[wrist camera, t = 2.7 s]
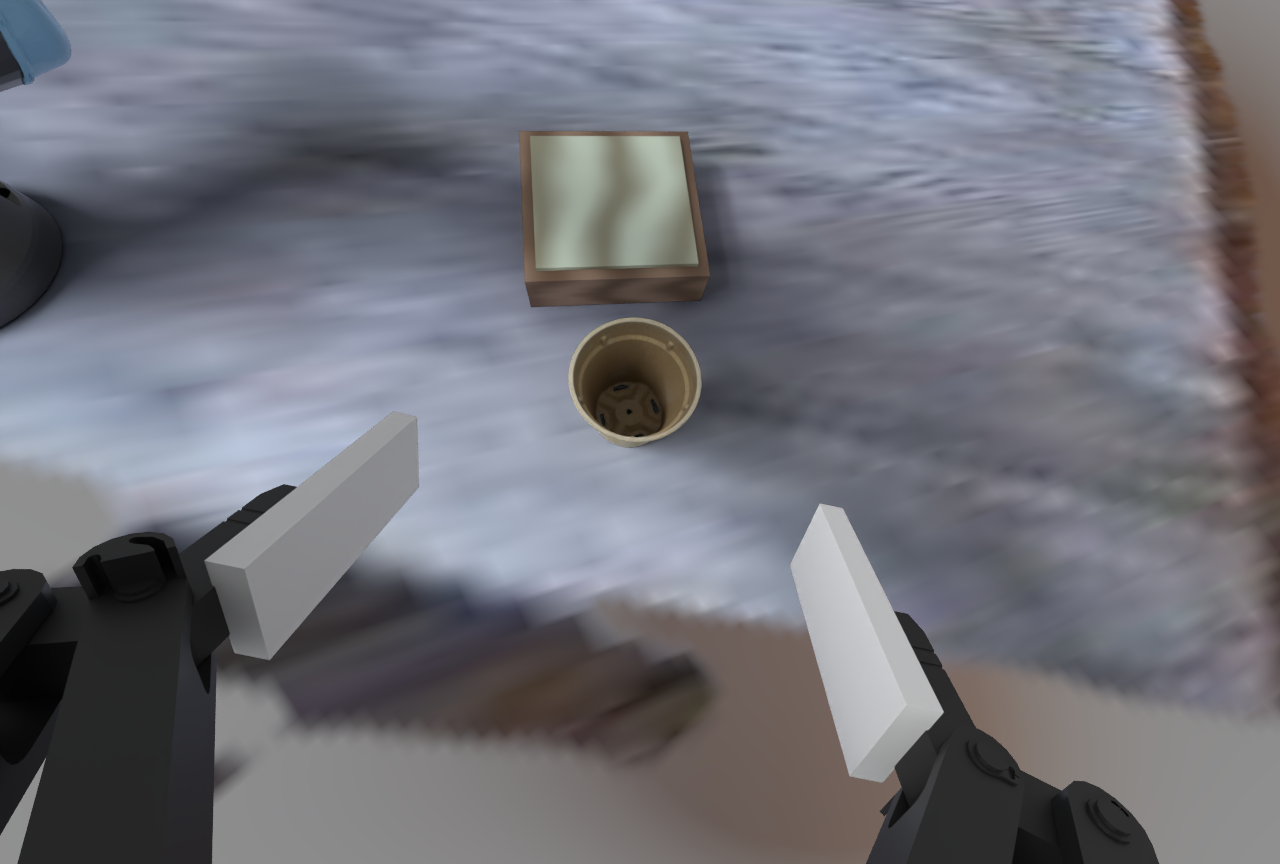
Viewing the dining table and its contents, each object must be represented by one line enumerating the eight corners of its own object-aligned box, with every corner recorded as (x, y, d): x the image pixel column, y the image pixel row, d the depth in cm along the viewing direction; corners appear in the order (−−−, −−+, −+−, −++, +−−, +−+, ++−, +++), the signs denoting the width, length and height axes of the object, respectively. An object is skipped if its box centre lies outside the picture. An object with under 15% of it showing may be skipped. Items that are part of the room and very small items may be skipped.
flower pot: (621, 489, 40) (628, 469, 31) (552, 407, 41) (540, 367, 33) (702, 421, 42) (728, 386, 34) (633, 346, 43) (642, 294, 35)
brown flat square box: (531, 306, 43) (524, 279, 39) (525, 166, 48) (518, 127, 43) (700, 300, 45) (711, 273, 41) (680, 165, 49) (688, 127, 45)
